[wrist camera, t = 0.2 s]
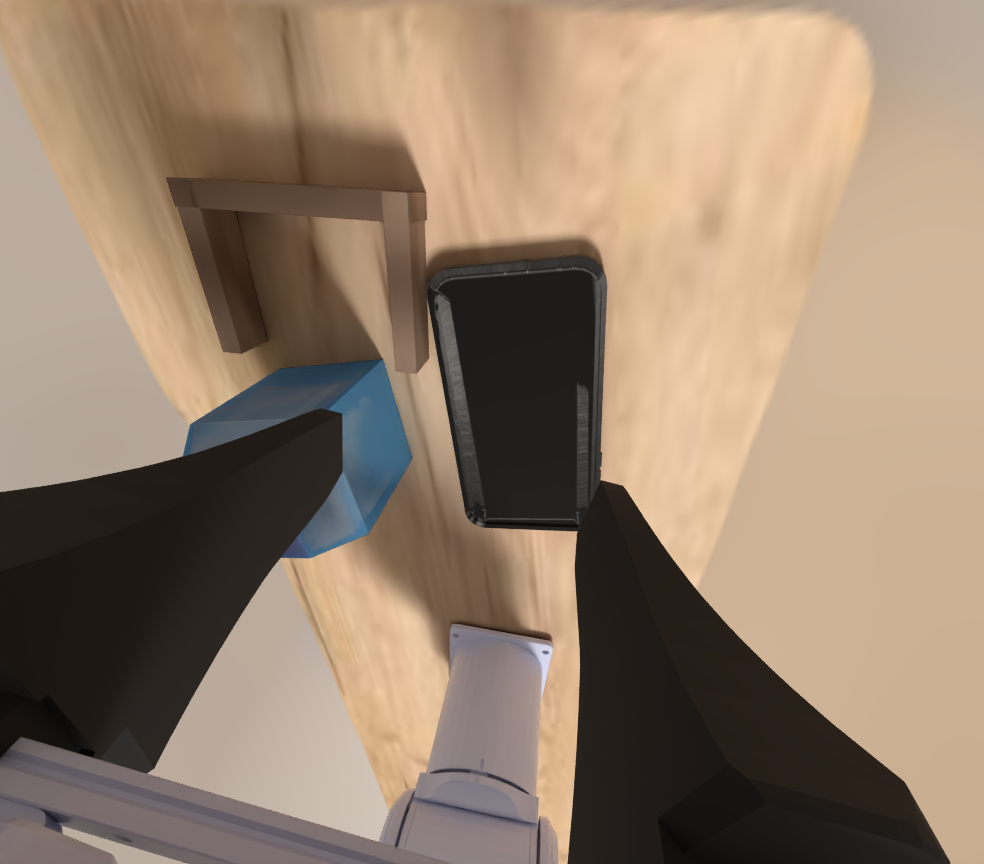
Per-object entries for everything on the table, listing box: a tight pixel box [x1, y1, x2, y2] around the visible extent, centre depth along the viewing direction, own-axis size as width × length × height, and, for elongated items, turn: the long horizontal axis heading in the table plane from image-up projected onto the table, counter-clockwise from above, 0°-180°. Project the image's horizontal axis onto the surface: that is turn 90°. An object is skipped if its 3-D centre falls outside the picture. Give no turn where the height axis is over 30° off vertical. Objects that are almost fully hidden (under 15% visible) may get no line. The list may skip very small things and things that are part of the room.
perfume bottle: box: [183, 359, 412, 558], centre depth 18 cm, size 6×6×12 cm
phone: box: [427, 255, 607, 531], centre depth 21 cm, size 8×1×15 cm
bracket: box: [166, 178, 429, 374], centre depth 18 cm, size 7×10×2 cm
